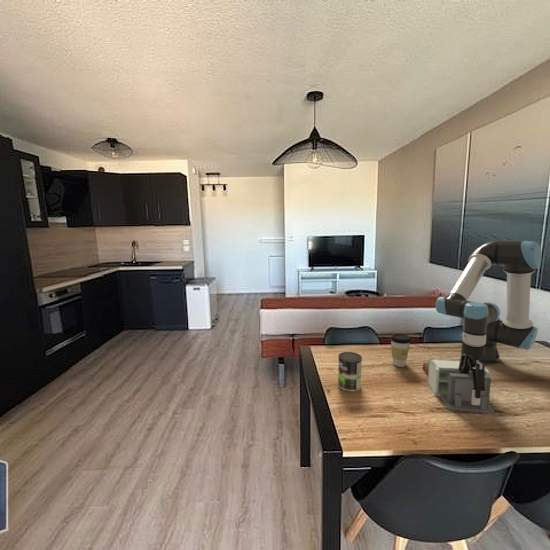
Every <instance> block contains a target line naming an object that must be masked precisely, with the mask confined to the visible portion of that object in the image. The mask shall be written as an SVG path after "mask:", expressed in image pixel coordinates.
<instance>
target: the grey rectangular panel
mask: <svg viewBox="0 0 550 550" xmlns="http://www.w3.org/2000/svg"><path fill="white" fill-rule="evenodd" d="M491 383H492V378H491V377H489V376H488V375H485V391H481V396H487V397H488V400H487V407H488V404H489V402H490V394H491V393H490V391H491ZM472 388H474V385H473V378H472V374H458V373H449V382H448V394H447V401H448V403H449V404H455V394H461V395H462V403H461V405H469V406H480V405H472V404H471V400H472ZM489 405H490V404H489Z"/></svg>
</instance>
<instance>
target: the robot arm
mask: <svg viewBox="0 0 550 550" xmlns="http://www.w3.org/2000/svg"><path fill="white" fill-rule="evenodd" d="M542 256H543V255H542V249H541V246H540V244H539V243H538V242H536V241H528V240H501V239H500V240H499V239H498V240H491V241H488V242H485V243H484V244H482V245H480V246H479V247H477V248H476V249H475V250H474V251H473V252H472V253H471V254H470V255H469V257H468V259H467V262H468V263H467V264H466V266H465V268H464V269H463V270H462V272H461V274H460V276H459V277H458V279H457V280H456V282H455V283H454V285H453V287H452V288H451V290H450V291H449V293H448V294H447V295H446V296H439V297H438V298H437V299H436V302H435V309H436V310H435V311H436V312H437V313H438V314H442V315H443V316H451V317H454V318H458V319H459V318H460V319H463V324H462V334H461V337H462V342H461V352H460V353H461V354H460V359H459V360H460V363H459V368H458V370H459V371H460V374H469V370H471V372H472V378H473V385H474V388H472V400H471V404H472V405H480V399H481V391H485V375H484V369H485V368H486V365H485V364H493V365H494V364H498V363H499V362H500V354H499V349H498V344H501V345H505V346H509V347H512V348H513V347H514V348H517V349H521V350H525V351H526V350H527V351H529V350H530V349H532V347H533V346H534V343H535V340H536V338H537V335H538V328H537V327H536V326H534V322H533V321H532V320H531V319H530V305H531V303H530V302H531V301H530V300H531V285H532V284H531V278H532V275H533V273H535V272H536V269H539V268H540V267H541V265H542V258H543V257H542ZM492 266H501V267H502V271H503V272H504V273H505V274H506V310H505V311H506V314H505V317H504V318H503V319H502V320H501V318H500V315H501V311H500V307H499V306H498V305H497V304H495V303H493V302H483V303H482V302H476V301H469V298H470V296H471V295H472V293H473V292H474V290H475V289H476V287H477V285H478V283H479V281H480V280H481V278H482V277H483V275H484V273H485V272H486V270H488V269H490V268H491V267H492ZM461 367H462V368H461ZM475 368H476V369H475Z"/></svg>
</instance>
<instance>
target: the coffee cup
mask: <svg viewBox="0 0 550 550" xmlns="http://www.w3.org/2000/svg"><path fill="white" fill-rule="evenodd" d="M389 340H390V343H391V344H390V347H391V356H392V364H393V365H394V366H396V367H406V364H407V360H408V358H409V357H408V356H409V350H410V344H411V341H412V340H411V337H410V336H409V335H408V334H404V333H393V334H391V336H390V338H389Z"/></svg>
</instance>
